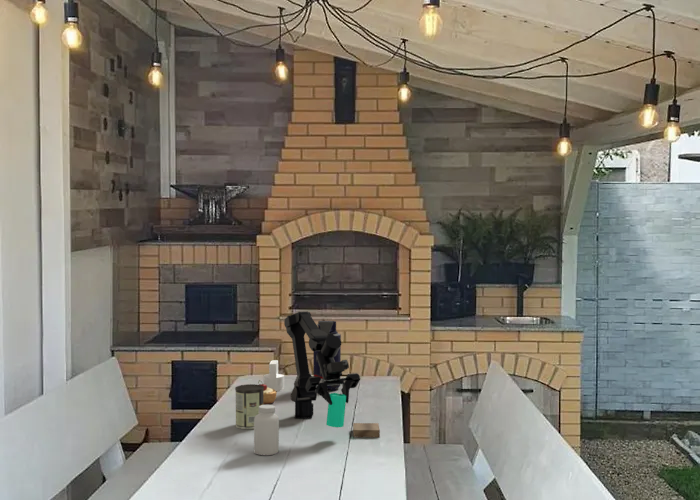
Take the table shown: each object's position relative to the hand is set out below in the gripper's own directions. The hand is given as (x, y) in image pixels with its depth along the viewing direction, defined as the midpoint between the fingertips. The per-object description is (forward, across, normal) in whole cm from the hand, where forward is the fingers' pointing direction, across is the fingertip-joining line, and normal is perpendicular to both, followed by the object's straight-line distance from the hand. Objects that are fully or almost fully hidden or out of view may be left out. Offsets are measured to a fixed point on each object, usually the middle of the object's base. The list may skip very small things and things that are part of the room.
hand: (339, 403), depth 272 cm
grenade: (-43, +26, +62) cm, 79 cm away
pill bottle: (+12, -27, +6) cm, 30 cm away
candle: (+5, -1, +7) cm, 8 cm away
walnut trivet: (+6, +12, +12) cm, 18 cm away
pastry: (-34, -8, +53) cm, 63 cm away
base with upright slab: (-48, +4, +68) cm, 83 cm away
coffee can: (-12, -23, +30) cm, 39 cm away
